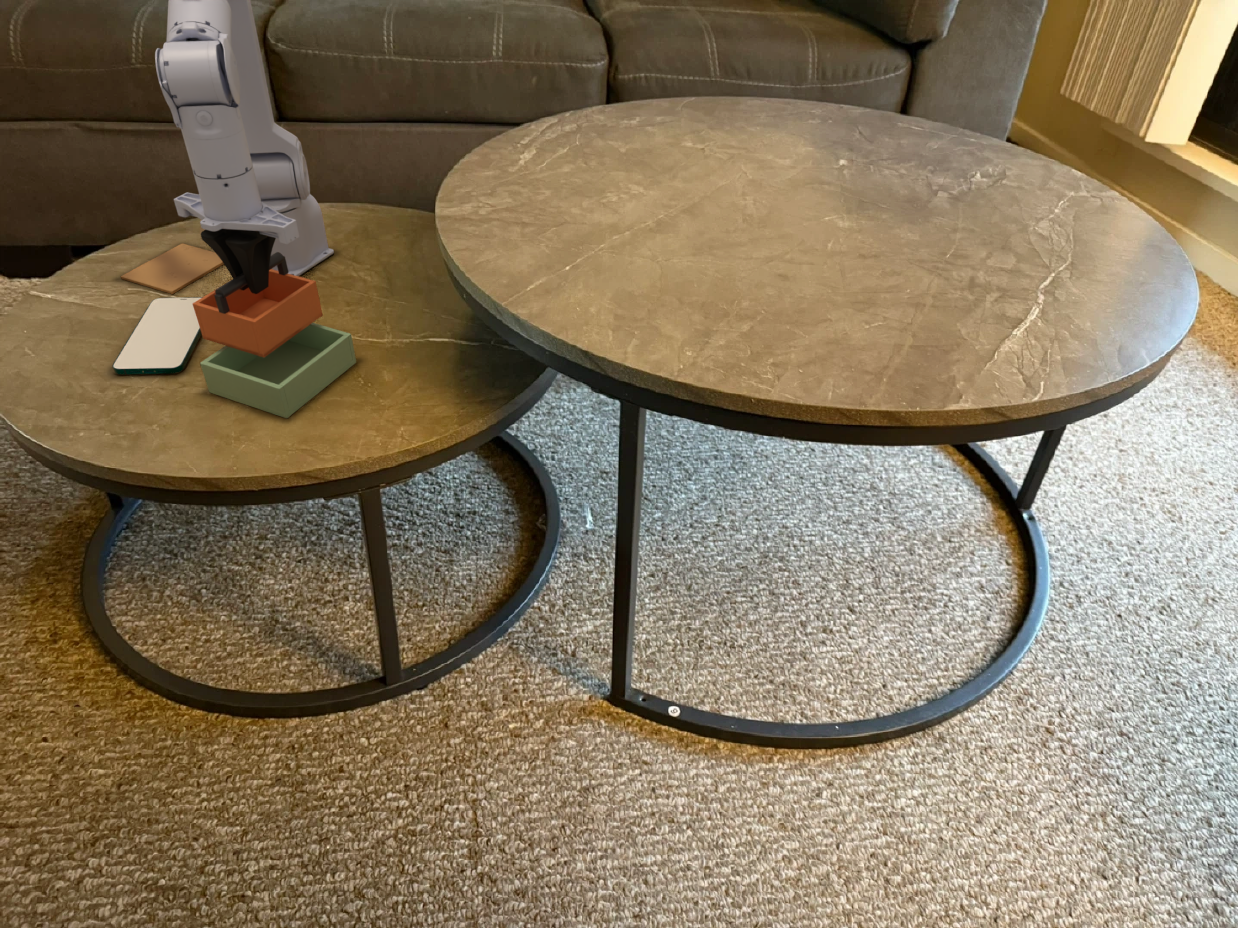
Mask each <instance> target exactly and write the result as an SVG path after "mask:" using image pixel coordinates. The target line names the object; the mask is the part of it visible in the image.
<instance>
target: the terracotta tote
mask: <svg viewBox="0 0 1238 928" xmlns="http://www.w3.org/2000/svg"><path fill="white" fill-rule="evenodd" d="M275 266H277V268H278V271H277V270H273V269H272V268H274V267H275ZM288 273H289V272H288V268H287V263H286V259H285V256H283V255H282V254H281V253H279V252H276V253H275V254H273V255H271V257H270V264H269V286H268V287H267V288H266V289H264V290H263V291H261V292H260V293H258V294H254V293H251V291H250V289H249V288H247V289H245V290H240V288H242V287H243V286H245V285H247V282H246V279H245V276H244V273H242V274H240V275H239V276H237V277H235V278H234V279H233V278H232V279H230V280H228V281H227V282H225V283H224V284H222V285H220V286H219V287H217V288H215V289H214V290H212V291H210V292H209V293H207V294H206V295H204V296H201V297H202V298H201V299H199V300H198V301H196V302H194V303H193V308H194V311H195V314H196V317H197V320H198V323H199V327H200V330H201V333H202V334H201V336H202V339H203V340H206V341H209V342H212V343H215V344H219V345H222V346H228V347H231V348H235V349H238V350H241V351H244V352H248V353H251V354H254V355H257V356H261V357H266V356H267V355H269V354H270V353H271V352H273V351H274V350H276V349H277V348H278V347H280V346H281V345H282V344H284V343H285V342H287V341H288V340H289V339H291V338H292V337H294V336H295V335H296V334H298V333H299V332H300V331H302V330H303V329H305V328H306V327H307V326H309V325H310V324H311V323H315V322H316V321H317V320H319V319H320V318H321V317H323V315H324V314H323V310H322V304H321V300H320V296H319V291H318V286H317V282H316V280H314V279H311V278H310V279H309V278H306V277H303V276H300V275H299V276H295V275H291V274H288Z"/></svg>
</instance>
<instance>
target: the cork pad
mask: <svg viewBox="0 0 1238 928" xmlns="http://www.w3.org/2000/svg"><path fill="white" fill-rule="evenodd" d="M223 265H224V263H223V262H222V260H221V259H220V258H219V256H218V255H217V254H216V253H215V252H214V251H213V250H208V249H204V248H200V247H198V246H193V245H190V244H186V243H183V242H182V243H180V244H178V245H176V246H174V247H172V248H170V249H169V250H167V251H165V252H163V253H161V254H159V255H158V256H156V257H154V258H152V259H150V260H148V261H146V262H144V263H142V264H141V265H139V266H137V267H135V268H133V269H131V270H130V271H128V272H126V273H124V274H122V275H121V276H120V279H121V280H124V281H126V282H130V283H134V284H137V285H140V286H143V287H147V288H151V289H154V290H157V291H159V292H160V291H161V292H164V293H166V294H171V295H174V294H175V293H177V292H179V291H181V290H182V289H184V288H185V287H187V286H189V285H191V284H193V283H194V282H196V281H197V280H199V279H201V278H203V277H204V276H206V275H208V274H210V273H211V272H213V271H215V270H216V269H219V268H220V267H222V266H223Z"/></svg>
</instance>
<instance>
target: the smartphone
mask: <svg viewBox="0 0 1238 928" xmlns="http://www.w3.org/2000/svg"><path fill="white" fill-rule="evenodd" d="M202 297H203V296H188V297H187V296H186V297H185V296H184V297H183V296H182V297H181V296H180V297H175V296H174V297H157V298H155V299H152V300H151V301H150V303H149V304H148V305H147V308H146V310H145V311H144V313H143V315H142V316H141V318H140V319H139V321H138V323H136V325H135V327H134V329H133V331H132V333H131V334H130V336H129V337H128V339H127V340H126V342H125V344H124V345H123V347H122V348H121V351H120V352H119V354H118V355H117V357H116V358H115V360H114V361H113V363H112V369H113V372H114V373H115V374H116V375H169V374H171V375H173V374H178V373H181V372H182V371H184V369H185V368H186V366H187V364H188V362H189V360H190V358H191V356H192V354H193V353H194V350H195V348H196V346H197V344H198V342H199V340H200V338H201V336H202V333H201V330H200V327H199V323H198V320H197V317H196V314H195V311H194V308H193V303H194V302H196V301H198V300H199V299H201V298H202Z"/></svg>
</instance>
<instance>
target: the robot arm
mask: <svg viewBox="0 0 1238 928" xmlns="http://www.w3.org/2000/svg"><path fill="white" fill-rule="evenodd" d="M251 1H252V0H168V2H167V21H166V22H167V23H166V41H165V42H164V43H163V46H162V48H160V47H157V48H156V49H155V52H154V59H155V60H154V61H155V69H156V75H157V79H158V84H159V87H160V90H161V92H162V95H163V97H164V100H165V102H166V104H167V106H168V108H169V110H170V112H171V115H172V119H173V123H174V124H175V127H176V128H179V129H180V130H181V135H182V138H183V142H184V145H185V149H186V152H187V156H188V159H189V163H190V166H191V170H192V174H193V177H194V180H195V184H196V187H197V192H198V193H192V192H189V191H188V192H185V193H183V194H181V195H179V196H177V197H175V198H173V202H174V206H175V209H176V212H177V216H178V217H181V218H188V217H190V216H192V217H195V218H198V219H199V220H200V221H199V225H200V227H201V229H203V230H202V231H201V233H200V237H201V240H202V241H203V242H204V243H205V244H206V245H207V246H208V247H209V248H210V249H211V250H212V252H215V253H216V254H217V255H218V256H219V258H220V259H221V260H222V262H223V263H224V264H223V265H224V266H225V268H226V269H227V272H228V273H229V274H230V276H231V278H232V279H234V278H235V277H237V276H239V275H240V274H242V273H244V276H245V279H246V282H247V285H245V286H243V287H242V288H240V290H245V289H247V288H249V289H250V291H251V293H254V294H258V293H260V292H261V291H263V290H264V289H266V288H267V287H268V286H269V264H270V257H271V255H273V254H275V253H276V252H279V253H281V254H282V255H283V256H285V259H286V263H287V268H288V272H289V273H288V274H291V275H295V276H299V277H300V276H301V275H303V274H304V273H306V272H307V271H309V270H310V269H312V268H313V267H315V266H317V265H318V264H319V263H321V262H323V261H324V260H326V259H327V258H329V257H331V256H332V255H333V254H334V253H335V251H334V250H335V249H333V248H329V243H328V238H327V232H326V227H325V222H324V217H323V212H322V209H321V206H320V203H318V201H317V199H316V198H315V197H314V195H312V194H311V184H310V175H309V170H308V164H307V160H306V157H305V154H304V152H303V147H302V142H301V141H300V140H299V138H298V136H296V135H295V134H294V133H292V132H290V131H288V130H286V129H285V128H283V127H282V126H280V125H279V124H277V123H276V122H275V119H274V114H273V109H272V103H271V98H270V94H269V88H268V83H267V77H266V72H265V68H264V67H265V66H264V63H263V57H262V52H261V47H260V42H259V37H258V32H257V27H256V22H255V16H254V12H253V11H254V10H253V6H252V2H251ZM272 269H273V270H277V271H278V268H277V266H275V267H274V268H272Z"/></svg>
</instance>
